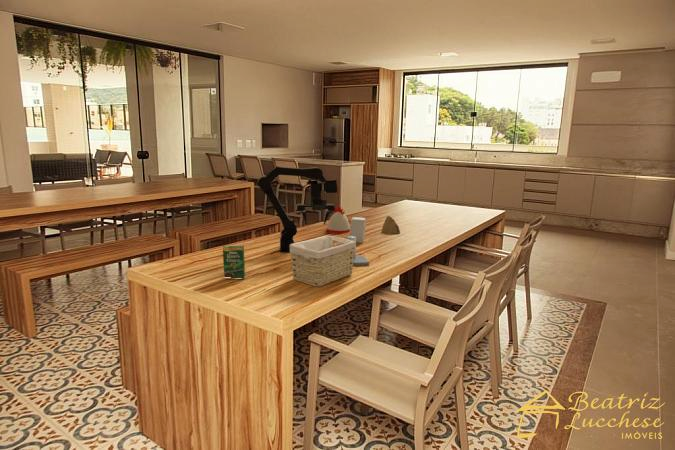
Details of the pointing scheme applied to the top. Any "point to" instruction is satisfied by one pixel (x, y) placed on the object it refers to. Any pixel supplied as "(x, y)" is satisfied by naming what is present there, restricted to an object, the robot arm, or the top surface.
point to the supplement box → (358, 228)
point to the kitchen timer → (338, 222)
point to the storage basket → (322, 260)
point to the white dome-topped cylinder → (353, 240)
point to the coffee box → (234, 261)
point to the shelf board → (360, 261)
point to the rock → (390, 226)
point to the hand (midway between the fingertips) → (315, 224)
